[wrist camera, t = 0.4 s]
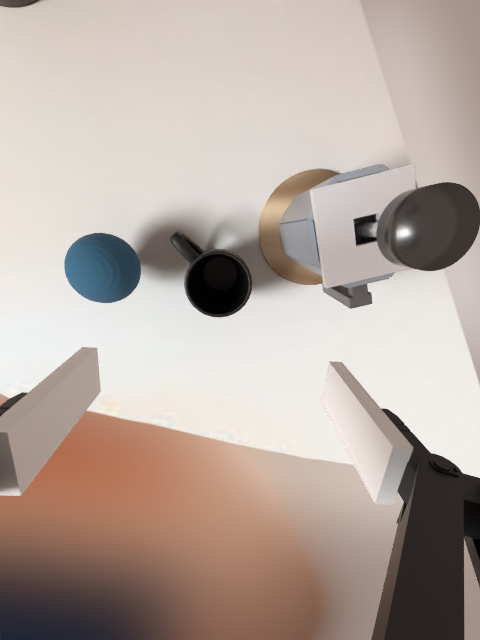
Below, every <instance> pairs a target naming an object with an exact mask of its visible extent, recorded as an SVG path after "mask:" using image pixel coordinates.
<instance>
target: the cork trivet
mask: <svg viewBox="0 0 480 640" xmlns="http://www.w3.org/2000/svg"><path fill="white" fill-rule="evenodd" d="M335 175H339V174H337V173H335V172H332V171H328V170H309V171H304V172H301V173H298V174H296V175H294V176H292V177H290V178H289V179H287V180H286V181H284V182H283V183H282V184H281V185H280V186H278V187H277V189H276V190H275V191H274V192H273V193H272V194H271V196H270V197H269V199H268V200H267V202H266V204H265V206H264V209H263V212H262V214H261V219H260V225H259V239H260V245H261V249H262V252H263V254H264V256H265V258H266V260H267V262H268V263H269V265H270V266H271V267H272V268H273V269H274V270H275V271H276V272H277V273H278V274H279V275H281V276H282V277H283V278H285V279H287V280H289V281H292V282H294V283H298V284H304V285H316V284H322V283H323V279H322V276H321V275H319V274H317V273H315V272H312V271H310V270H308V269H306V268H305V267H303V266H301V265H300V264H298V263H297V262H295V261H294V260H292V259H291V258H289V257H288V256H286V255H285V253H283V248H282V245H281V242H280V236H279V226H278V225H280V224H279V222H280V220H281V219H282V217H283V214H284V213H285V211H286V209H287V208H288V207H289V205H290V204H291V202H292V201H293V199H294V198H295V197H296V196H298V195H299V194H301V193H303V192H305V191H307V190H309V189H311V188H313V187H315V186H316V185H318V184H320V183H322V182H324V181H326V180H328V179H330V178H332V177H333V176H335Z"/></svg>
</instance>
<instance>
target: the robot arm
mask: <svg viewBox="0 0 480 640" xmlns="http://www.w3.org/2000/svg"><path fill="white" fill-rule="evenodd" d="M34 1H36V0H0V6H7V7H17V6H23V5H27V4H30V3H32V2H34ZM99 393H100V378H99V366H98V354H97V348H88V347H82V348H81V349H80V350H79V351H78V352H76V353H75V354H74V355H73V356H72V357H70V358H69V359H68V360H67V361H66V362H64V363H63V364H62V365H61V366H60V367H58V368H57V369H56V370H55V371H54V372H53V373H51V374H50V375H49V376H48V377H47V378H45V379H44V380H43V381H42V382H41V383H39V384H38V385H37V386H36V387H35V388H34V389H32V390H31V391H30V392H29V393H21V394H18V395H16V396H14V397H12V398H10V399H9V400H7V401H6V402H5V403H3V404H2V405H1V406H0V495H10V496H21V495H22V494H23V492H24V491H25V490H26V488H27V487H28V486H29V485H30V483H31V482H32V480H33V479H34V478H35V477H36V475H37V474H38V473H39V471H40V470H41V469H42V467H43V466H44V465H45V464H46V462H47V461H48V460H49V458H50V457H51V455H52V454H53V453H54V452H55V450H56V449H57V448H58V447H59V445H60V444H61V443H62V441H63V440H64V439H65V437H66V436H67V435H68V433H69V432H70V431H71V429H72V428H73V426H75V424H76V423H77V422H78V420H79V419H80V418H81V416H82V415H83V414H84V412H85V411H86V410H87V409H88V407H89V406H90V405H91V403H92V402H93V401H94V399H95V398H96V397H97V395H98V394H99ZM321 403H322V405H323V407H324V409H325V411H326V413H327V415H328V417H329V418H330V420H331V422H332V424H333V426H334V428H335V430H336V432H337V433H338V435H339V437H340V439H341V441H342V443H343V445H344V447H345V448H346V450H347V452H348V454H349V456H350V458H351V460H352V462H353V463H354V465H355V467H356V469H357V471H358V473H359V475H360V477H361V478H362V480H363V482H364V484H365V486H366V488H367V490H368V492H369V493H370V495H371V497H372V499H373V501H374V503H375V504H394V502H395V499H396V496H397V494H398V493H399V494H400V496H401V497H402V499H403V501H404V504H403V506H402V509H401V512H400V515H399V518H398V520H397V523H398V527H397V531H396V536H395V540H394V544H393V548H392V553H391V557H390V561H389V566H388V570H387V575H386V579H385V583H384V588H383V592H382V596H381V600H380V605H379V609H378V614H377V618H376V623H375V627H374V631H373V635H372V639H371V640H464V539H465V542H466V545H467V548H468V552H469V554H470V558H471V561H472V564H473V567H474V570H475V573H476V577H477V580H478V583H479V586H480V478H478V477H474V476H470V475H467V474H463V473H462V472H461V471H460V469H459V468H458V467H457V466H456V465H455V464H453V463H452V462H451V461H449V460H447V459H446V458H444V457H442V456H439V455H436V454H431V453H430V452H429V451H428V450H427V449H426V447H425V446H424V445H423V444H422V443H421V442H420V441H419V440H418V439H417V437H416V436H415V435H414V434H413V433H412V432H410V430H409V429H408V427H407V426H406V425H404V423H403V422H402V421H401V420H400V418H399V417H398V416H397V415H395V414H394V413H392V412H391V411H389V410H388V409H381V408H380V407H379V406H378V405H377V404H376V402H375V401H374V400H373V399H372V398H371V396H370V395H369V394H368V393H367V392H366V390H365V389H364V388H363V387H362V386H361V385H360V383H359V382H358V381H357V380H356V379H355V377H354V376H353V375H352V374H351V373H350V371H349V370H348V369H347V368H346V367H345V366H344V364H343V363H342V362H329V365H328V369H327V374H326V379H325V384H324V389H323V394H322V398H321Z"/></svg>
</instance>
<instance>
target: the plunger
mask: <svg viewBox="0 0 480 640" xmlns="http://www.w3.org/2000/svg"><path fill="white" fill-rule="evenodd" d="M353 221H354V230H355V240H356V245H359V244H363V243H367V242H371V241H375V240H377V244H378V247H379V249H380V252H381V253H382V255H383V256H384V257H385V258H386V259H387V260H388V261H390V262H391V263H393V264H396V265H399V266H404V267H409V268H414V269H419V270H424V271H435V270H440V269H443V268H446V267H448V266H450V265H452V264H454V263H455V262H457V261H458V260H459V259H460V258H461V257H463V255H465V254H466V252H467V251H468V250H469V249H470V247H471V246H472V244H473V242H474V241H475V238H476V236H477V234H478V230H479V225H480V209H479V205H478V202H477V200H476V198H475V197H474V195H473V194H472V193H471V192H470V191H469V190H468V189H467V188H465V187H464V186H462V185H460V184H456V183H449V182H446V183H438V184H434V185H429V186H425V187H421V188H416V189H412V190H409V191H406V192H404V193H402V194H400V195H398V196H397V197H396V198H394V199H393V200H392V201H391V202H390V203H389V204H388V205H387V207H386V208H385V209H384V211H383V212H382V214H381V216H380V219H379V222H376V214H372V215H368V216H364V217H360V218H356V219H353ZM315 236H316V231H315ZM316 243H317V237H316ZM317 246H318V244H317Z"/></svg>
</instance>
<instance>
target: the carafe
mask: <svg viewBox="0 0 480 640" xmlns="http://www.w3.org/2000/svg"><path fill="white" fill-rule="evenodd" d="M412 189H416V183H415V164H412V165H408V166H404V167H400V168H396V169H392V170H390V169H388V168H387V167H386V166H385V165H381V164H379V165H375V166H371V167H367V168H363V169H359V170H355V171H351V172H347V173H343V174H339V175H335V176H333V177H332V178H330V179H328V180H326V181H324V182H322V183H320V184H318V185H316V186H315V187H313V188H311V189H309V190H307V191H305V192H303V193H301V194H299V195H298V196H296V197H295V198H294V199H293V201H292V202H291V204H290V205H289V207H288V208H287V209H286V211H285V213H284V214H283V217H282V219H281V220H280V222H279V224H280V225H278V226H279V236H280V242H281V245H282V248H283V253H285V255H286V256H288V257H289V258H291V259H292V260H294V261H295V262H297V263H298V264H300V265H301V266H303V267H305V268H306V269H308V270H310V271H312V272H315V273H317V274H319V275H321V276H322V279H323V291H324V292H325V293H326V294H328V295H329V296H331V297H333V298H334V299H336V300H337V301H339V302H341V303H342V304H344V305H345V306H347V307H349V308H350V309H351V308H356V307H360V306H364V305H368V304H372V296H371V293H370V292H368V289H367V284H368V283H372V282H376V281H380V280H385V279H389V277H392V275H393V274H394V273H395V272H398V271H402V270H406V269H410V268H409V267H404V266H399V265H396V264H393V263H391V262H390V261H388V260H387V259H386V258H385V257H384V256H383V255H382V253H381V252H380V249H379V247H378V244H377V240H375V241H371V242H367V243H363V244H359V245H356V240H355V230H354V221H353V219H356V218H360V217H364V216H368V215H372V214H376V222H379V219H380V216H381V214H382V212H383V211H384V209H385V208H386V207H387V205H388V204H389V203H390V202H391V201H392V200H393V199H394V198H396V197H397V196H398V195H400V194H402V193H404V192H406V191H409V190H412ZM315 231H316V236H315ZM316 237H317V243H316ZM317 244H318V246H317Z"/></svg>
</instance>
